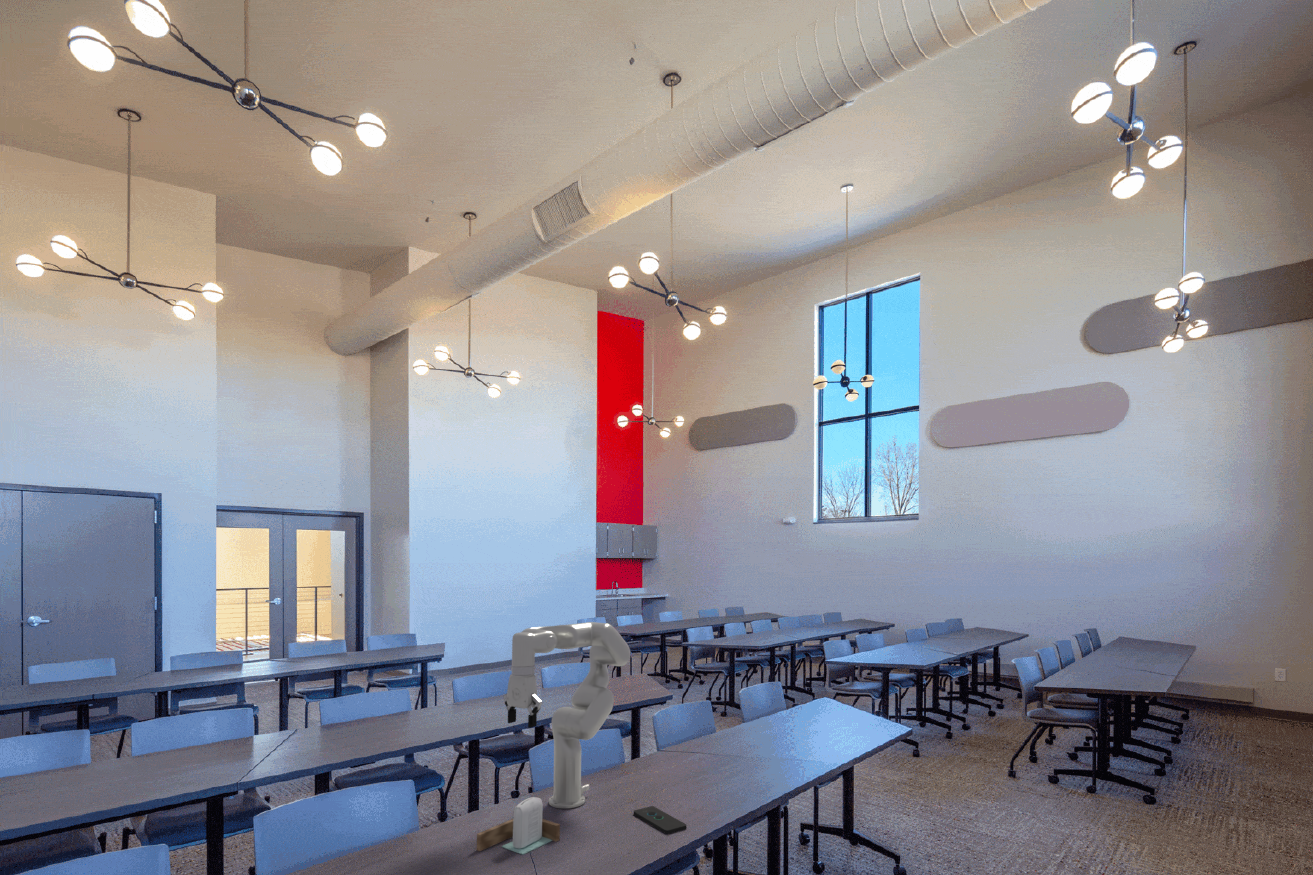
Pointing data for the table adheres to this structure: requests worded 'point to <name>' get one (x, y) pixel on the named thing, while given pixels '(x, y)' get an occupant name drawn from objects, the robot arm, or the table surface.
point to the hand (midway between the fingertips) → (521, 724)
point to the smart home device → (660, 820)
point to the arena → (506, 832)
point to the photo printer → (527, 822)
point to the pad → (527, 848)
